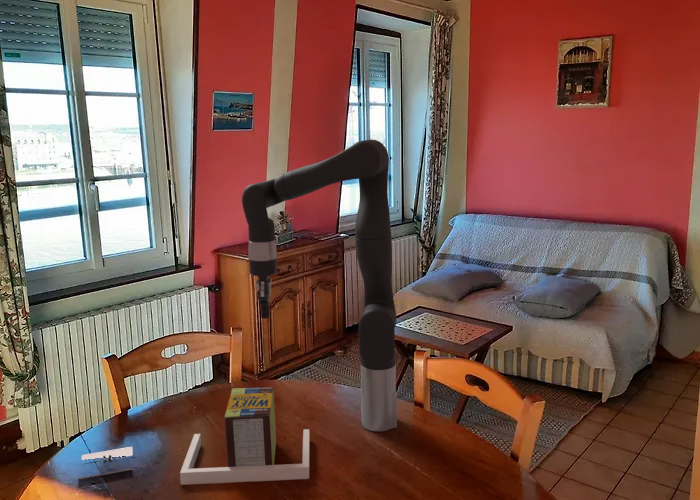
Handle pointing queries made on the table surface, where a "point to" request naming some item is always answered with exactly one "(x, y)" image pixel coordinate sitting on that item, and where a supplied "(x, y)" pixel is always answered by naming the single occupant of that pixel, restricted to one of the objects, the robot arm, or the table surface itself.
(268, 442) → the protein box
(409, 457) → the table surface
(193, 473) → the u-shaped bracket
